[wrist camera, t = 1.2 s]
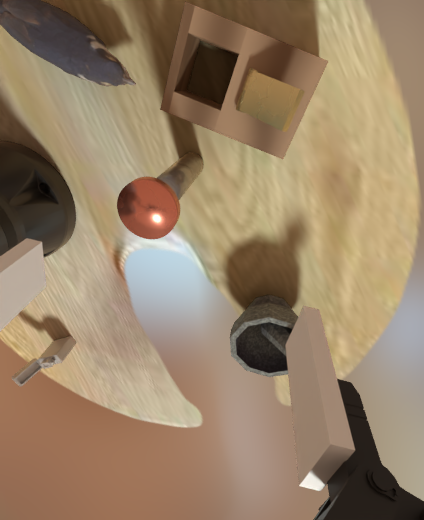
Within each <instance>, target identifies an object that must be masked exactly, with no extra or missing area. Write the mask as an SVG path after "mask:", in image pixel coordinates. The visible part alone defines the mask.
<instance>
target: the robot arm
mask: <svg viewBox="0 0 424 520" xmlns="http://www.w3.org/2000/svg"><path fill="white" fill-rule="evenodd" d="M75 222H76V213H75V206H74V202H73V199H72V196H71V194H70V191H69V189H68V187H67V185H66V184H65V182H64V180H63V179H62V177H61V176H60V175H59V173H58V172H57V171H56V170H55V169H54V168H53V167H52V165H51V164H49V163H48V162H47V161H46V160H45V159H44V158H43V157H41V156H40V155H38V154H37V153H36V152H34V151H32V150H30V149H28V148H27V147H24V146H22V145H19V144H16V143H12V142H6V141H0V331H1V330H2V329H3V328H4V327H5V326H6V325H7V324H8V323H9V322H10V321H11V320H12V319H13V318H14V317H16V316H17V315H18V314H19V313H20V312H21V311H22V310H23V309H24V308H25V307H26V306H27V305H28V304H29V303H30V302H31V301H32V300H33V299H34V298H35V297H36V296H37V295H38V294H39V293H40V292H41V291H42V290H43V289H44V288H45V287H46V276H45V266H44V257H47V256H49V255H51V254H53V253H54V252H56V251H57V250H58V249H60V248H61V247H62V246H63V245H65V244H66V243H67V242H68V240H69V239H70V238H71V236H72V234H73V231H74V228H75ZM285 346H286V356H287V366H288V377H289V387H290V397H291V407H292V418H293V428H294V438H295V448H296V459H297V469H298V479H299V486H302V487H306V488H310V489H314V490H318V491H321V490H322V489H323V488H324V487H325V486H326V484H328V490H329V496H330V497H329V498H328V499H327V500H326V501H325V502H324V504H323V505H322V506H321V507H320V508H319V512H318V514H317V515H316V517H315V518H314V520H424V501H422V500H420V499H419V498H417V497H415V496H414V495H412V494H410V493H409V492H407V491H405V490H404V489H402V488H401V487H400V486H399V484H398V483H397V481H396V479H395V477H394V476H393V475H392V474H391V473H390V471H389V470H388V469H387V468H386V467H384V466H383V465H382V463H381V461H380V458H379V455H378V451H377V448H376V445H375V442H374V439H373V436H372V433H371V429H370V426H369V423H368V421H367V417H366V414H365V411H364V410H363V404H362V401H361V398H360V395H359V393H358V392H357V390H356V389H355V388H354V386H353V385H352V383H350V382H347V381H343V380H339V379H337V377H336V373H335V369H334V366H333V362H332V358H331V354H330V350H329V346H328V342H327V338H326V335H325V331H324V327H323V323H322V319H321V315H320V311H319V309H315V308H311V307H306V306H303V308H302V310H301V313H300V315H299V317H298V319H297V321H296V323H295V326H294V328H293V330H292V332H291V334H290V336H289V339H288V341H287V343H286V345H285Z"/></svg>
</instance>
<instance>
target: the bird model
mask: <svg viewBox="0 0 424 520" xmlns="http://www.w3.org/2000/svg"><path fill="white" fill-rule="evenodd" d="M0 25H1V26H2V27H3V28H4V29H5V30H6V31H7V32H8V33H9V34H10V35H11V36H12V37H13V38H15V39H16V40H17V41H18V42H20V43H21V44H22V45H23V46H25V47H26V48H27V49H28V50H30V51H31V52H32V53H34V54H36V55H38V56H39V57H41V58H43V59H45V60H46V61H48V62H50V63H52V64H54V65H56V66H57V67H59V68H61V69H62V70H63V71H65V72H67V73H69V74H72V75H75V76H77V77H79V78H82V79H85V80H87V81H90V82H95V83H98V84H100V85H104V86H111V85H114V86H118V85H125V84H129V85H136V83H135V82H134V81H133V80H132V79H131V78H130V77H129V73H128V72H127V70H126V68H125V67H124V66H123V65H122V64H121V63H120V62H119V60H118V59H117V58H116V57H114V56H113V55H112V54H111V53H110V52H109V51H108V50H107V48H106V47H105V45H104V43H103V41H101V40H100V39H99V38H98V37H97V36H96V35H94V34H93V33H92V32H91V31H90V30H89V29H88V28H87V27H86V26H85V25H84V24H82V23H81V22H80V21H79V20H78V19H76V18H74V17H73V16H71V15H70V14H68V13H67V12H65V11H63V10H61V9H60V8H57V7H55V6H53V5H51V4H48V3H46V2H43V1H41V0H0Z"/></svg>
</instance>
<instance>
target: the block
mask: <svg viewBox="0 0 424 520" xmlns="http://www.w3.org/2000/svg"><path fill="white" fill-rule="evenodd" d="M200 40H201V41H204V42H206V43H208V44H211V45H213V46H216V47H218V48H220V49H223V50H225V51H228V52H230V53H233V54H235V55H237V56H238V59H237V62H236V65H235V68H234V71H233V75H232V78H231V81H230V84H229V87H228V90H227V93H226V96H225V99H224V102H223V105H221V104H219V103H217V102H214V101H212V100H209V99H207V98H204V97H202V96H199V95H197V94H194V93H192V92H190V91H187V89H188V85H189V81H190V78H191V74H192V70H193V66H194V63H195V59H196V55H197V51H198V48H199V44H200ZM327 63H328V61H327V60H324V59H322V58H320V57H317V56H315V55H312V54H310V53H308V52H305V51H303V50H301V49H298V48H296V47H293V46H291V45H289V44H286V43H284V42H281V41H279V40H277V39H274V38H272V37H269V36H267V35H265V34H262V33H260V32H257V31H255V30H253V29H250V28H248V27H245V26H243V25H241V24H238V23H236V22H234V21H231V20H229V19H226V18H224V17H222V16H219V15H217V14H214V13H212V12H210V11H207V10H205V9H202V8H200V7H198V6H195V5H193V4H190V3H188V2H186V1H185V5H184V10H183V14H182V18H181V23H180V27H179V31H178V35H177V40H176V44H175V48H174V53H173V57H172V61H171V66H170V70H169V74H168V79H167V83H166V87H165V92H164V96H163V100H162V105H161V109H160V110H163V111H165V112H168V113H170V114H173V115H175V116H177V117H180V118H182V119H185V120H187V121H190V122H192V123H195V124H197V125H200V126H202V127H205V128H207V129H210V130H212V131H215V132H217V133H219V134H222V135H224V136H227V137H229V138H232V139H234V140H237V141H239V142H242V143H244V144H247V145H249V146H252V147H254V148H256V149H259V150H261V151H264V152H266V153H269V154H271V155H274V156H276V157H279V158H281V159H283V158H284V156H285V154H286V152H287V149H288V147H289V145H290V143H291V141H292V139H293V136H294V134H295V132H296V130H297V128H298V126H299V124H300V121H301V119H302V117H303V115H304V113H305V111H306V108H307V106H308V104H309V102H310V100H311V98H312V95H313V93H314V91H315V89H316V87H317V85H318V83H319V80H320V78H321V76H322V74H323V72H324V70H325V67H326V65H327ZM250 68H252V69H255V70H257V71H260V73H261V74H263V75H266V76H268V77H271V78H273V79H276V80H278V81H281V82H283V83H286V84H288V85H291V86H293V87H296V88H298V89H301V90H303V91H305V93H304V95H303V97H302V99H301V102H300V104H299V106H298V108H297V110H296V113H295V115H294V117H293V119H292V122H291V124H290V126H289V128H288V131H287V132H284V131H281V130H279V129H277V128H275V127H273V126H271V125H269V124H267V123H265V122H263V121H261V120H259V119H257V118H255V117H253V116H251V115H249V114H247V113H242V112H240V111H237V110H236V106H237V103H238V100H239V97H240V94H241V91H242V89H243V86H244V83H245V80H246V77H247V74H248V72H249V69H250Z"/></svg>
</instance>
